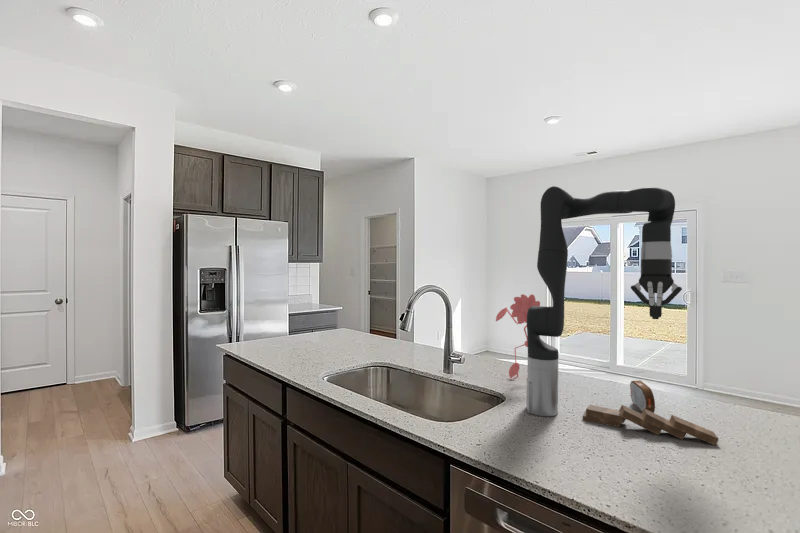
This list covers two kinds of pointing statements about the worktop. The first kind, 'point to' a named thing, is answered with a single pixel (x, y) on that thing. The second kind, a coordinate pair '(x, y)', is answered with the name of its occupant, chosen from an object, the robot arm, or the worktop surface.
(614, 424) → the tile
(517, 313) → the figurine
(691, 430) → the end tile
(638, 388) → the tin
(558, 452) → the worktop surface
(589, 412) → the tile
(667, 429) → the tile
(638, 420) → the tile
